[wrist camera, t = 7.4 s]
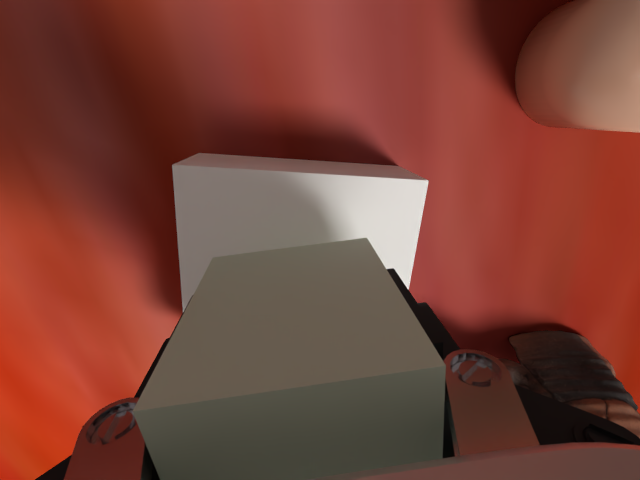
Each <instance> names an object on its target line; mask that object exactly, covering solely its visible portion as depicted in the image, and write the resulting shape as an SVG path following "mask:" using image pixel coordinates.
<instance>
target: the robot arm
mask: <svg viewBox="0 0 640 480" xmlns="http://www.w3.org/2000/svg"><path fill="white" fill-rule="evenodd" d="M387 271H388V273H389V274H390V276H391V277H392V279H393V281H394V282H395V284H396V286H397V287H398V289H399V290H400V292H401V294H402V295H403V297H404V299H405V300H406V302H407V303H408V305H409V307H410V308H411V310H412V312H413V313H414V315H415V316H416V318H417V320H418V321H419V323H420V324H421V326H422V328H423V329H424V331H425V333H426V334H427V336H428V337H429V339H430V341H431V342H432V344H433V346H434V347H435V349H436V350H437V352H438V354H439V355H440V357H441V359H442V360H443V362H444V363H445V365H446V374H445V402H444V429H443V457H442V459H436V460H430V461H423V462H416V463H410V464H403V465H397V466H390V467H384V468H377V469H371V470H364V471H357V472H351V473H345V474H338V475H332V476H326V477H319V478H313V479H307V480H640V438H639V437H638V436H637V435H635V434H634V433H632V432H631V431H629V430H627V429H626V428H624V427H623V426H621V425H619V424H616V423H614V422H612V421H610V420H607V419H605V418H602V417H599V416H597V415H594V414H592V413H589V412H586V411H584V410H581V409H578V408H576V407H573V406H570V405H568V404H565V403H563V402H560V401H557V400H555V399H552V398H549V397H547V396H544V395H541V394H539V393H536V392H534V391H531V390H528V389H526V388H523V387H520V386H518V385H515V384H514V383H513V381H512V378H511V376H510V374H509V371H508V370H507V368H506V366H505V365H504V364H503V363H502V362H501V361H500V360H499V359H498V358H496V357H494V356H492V355H491V354H489V353H486V352H483V351H480V350H474V349H460V348H459V347H458V346H457V344H456V343H455V341H454V340H453V339H452V337H451V336H450V334H449V333H448V332H447V330H446V329H445V327H444V326H443V325H442V323H441V322H440V321H439V319H438V318H437V316H436V315H435V314H434V312H433V311H432V309H431V308H430V307H429V305H428V304H427V303H417V302H416V301H415V299H414V298H413V296H412V295H411V293H410V292H409V290H408V289H407V287H406V286H405V284H404V283H403V281H402V280H401V278H400V277H399V275H398V274H397V272H396V271H395V269H394V268H391V269H387ZM192 297H193V295H192ZM192 297H191V298H192ZM190 300H191V299H190ZM189 302H190V301H189ZM189 302H188V304H189ZM188 304H187V306H188ZM187 306H186V308H187ZM186 308H185V310H186ZM185 310H184V312H185ZM184 312H183V314H184ZM183 314H182V316H183ZM182 316H181V318H182ZM181 318H180V319H179V321H180V320H181ZM179 321H178V323H179ZM178 323H177V325H178ZM177 325H176V327H177ZM176 327H175V329H176ZM175 329H174V331H175ZM174 331H173V333H174ZM173 333H172V335H173ZM172 335H171V336H170V338H168V339H166V340H165V342H164V343H163V345H162V347H161V349H160V351H159V353H158V354H157V356H156V358H155V360H154V362H153V364H152V365H151V367H150V369H149V371H148V373H147V375H146V376H145V378H144V380H143V382H142V384H141V386H140V387H139V389H138V391H137V393H136V395H135V397H134V398H125V399H121V400H118V401H116V402H113V403H111V404H109V405H107V406H105V407H104V408H102V409H101V410H99V411H98V412H97V413H95V414H94V415H93V416H92V417H91V418H90V419H89V420H88V421H87V422H86V423H85V425H84V426H83V427H82V429H81V431H80V433H79V435H78V438H77V441H76V444H75V447H74V450H73V453H72V455H71V456H69V457H68V458H66V459H65V460H63V461H62V462H60V463H59V464H57V465H56V466H54V467H53V468H52V469H50V470H49V471H47V472H46V473H44V474H43V475H41V476H40V477H38V478H37V479H35V480H160V478H159V476H158V473H157V471H156V468H155V466H154V463H153V461H152V458H151V456H150V453H149V451H148V448H147V446H146V443H145V441H144V439H143V436H142V434H141V431H140V429H139V426H138V424H137V421H136V419H135V416H134V414H133V410H134V408H135V406H136V404H137V402H138V400H139V398H140V396H141V394H142V392H143V390H144V388H145V387H146V385H147V383H148V381H149V379H150V377H151V375H152V373H153V371H154V369H155V367H156V365H157V364H158V362H159V360H160V358H161V356H162V354H163V352H164V350H165V348H166V346H167V344H168V343H169V341H170V339H171V337H172Z"/></svg>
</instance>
